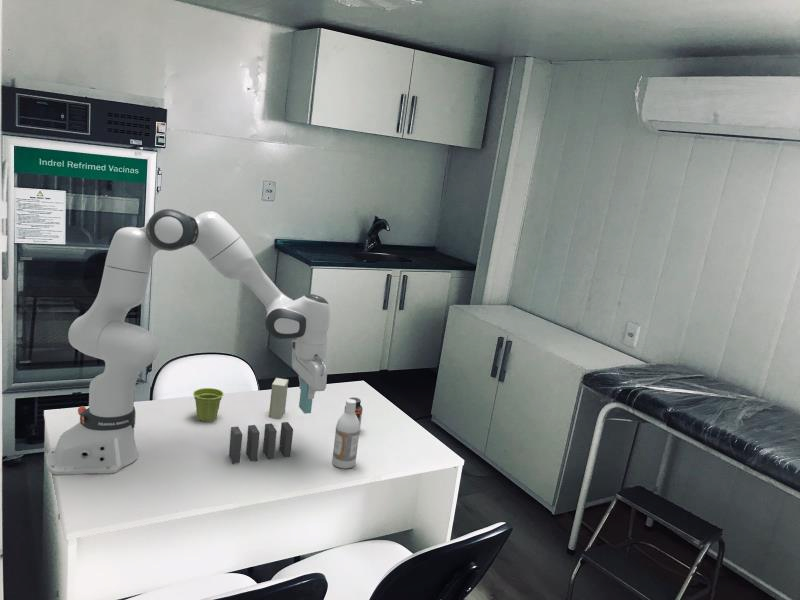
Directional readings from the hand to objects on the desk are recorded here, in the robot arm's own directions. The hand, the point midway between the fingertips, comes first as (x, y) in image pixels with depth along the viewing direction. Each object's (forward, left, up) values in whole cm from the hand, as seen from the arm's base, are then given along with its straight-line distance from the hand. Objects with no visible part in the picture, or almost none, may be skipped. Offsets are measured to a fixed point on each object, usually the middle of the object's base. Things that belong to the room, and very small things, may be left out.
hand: (306, 393), depth 187 cm
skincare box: (+1, +27, -19) cm, 33 cm away
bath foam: (+10, -10, -19) cm, 24 cm away
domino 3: (-10, 0, -19) cm, 21 cm away
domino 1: (-20, 0, -19) cm, 27 cm away
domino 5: (0, 0, -5) cm, 5 cm away
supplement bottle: (+21, +10, -19) cm, 30 cm away
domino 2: (-15, 0, -19) cm, 24 cm away
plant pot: (-22, +29, -19) cm, 41 cm away
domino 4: (-5, 0, -19) cm, 19 cm away
